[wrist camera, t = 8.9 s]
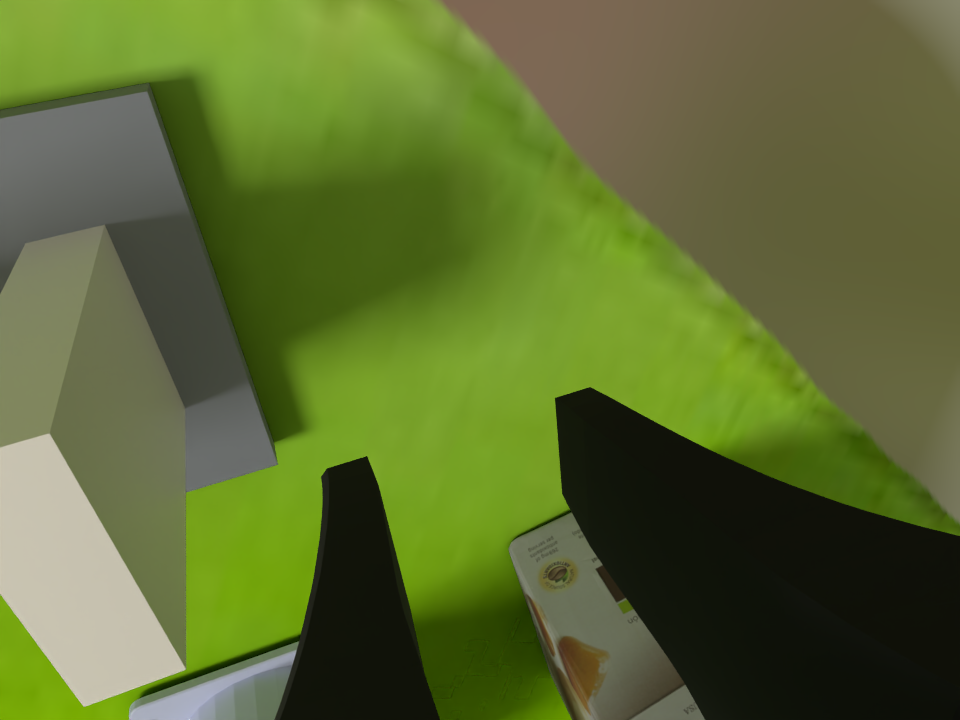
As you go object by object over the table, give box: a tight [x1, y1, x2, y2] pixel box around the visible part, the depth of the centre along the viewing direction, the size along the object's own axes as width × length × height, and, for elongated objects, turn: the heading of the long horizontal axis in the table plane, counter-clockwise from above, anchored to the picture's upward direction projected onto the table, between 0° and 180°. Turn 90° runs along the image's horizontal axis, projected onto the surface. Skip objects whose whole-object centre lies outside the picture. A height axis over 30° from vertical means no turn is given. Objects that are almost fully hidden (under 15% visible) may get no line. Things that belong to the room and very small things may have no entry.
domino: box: [0, 225, 186, 707], centre depth 14 cm, size 5×2×8 cm, turn 7°
